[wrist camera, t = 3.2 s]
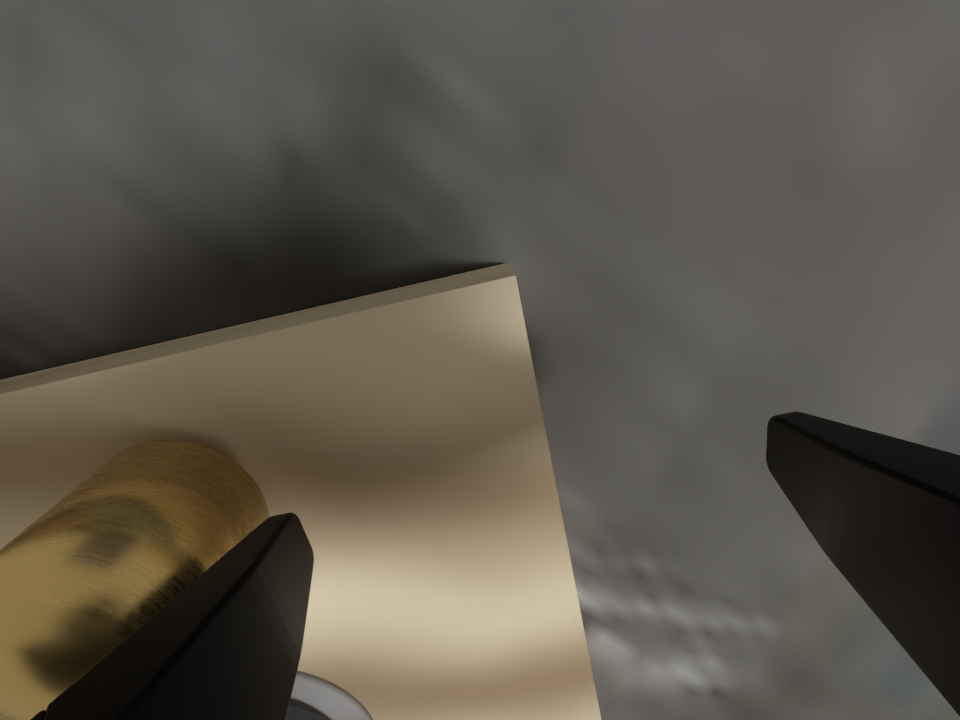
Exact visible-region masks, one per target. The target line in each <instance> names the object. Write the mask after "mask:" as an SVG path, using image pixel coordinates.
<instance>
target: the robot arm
mask: <svg viewBox="0 0 960 720" xmlns="http://www.w3.org/2000/svg"><path fill="white" fill-rule="evenodd" d="M766 460H767V465H768V468H769V470H770V472H771V474H772V475H773V477H774V478H775V480H776V481H777V483H778V484H779V486H780V487H781V489H782V490H783V492H784V493H785V495H786V496H787V498H788V499H789V501H790V502H791V504H792V505H793V507H794V508H795V510H796V511H797V513H798V514H799V516H800V517H801V519H802V520H803V522H804V523H805V525H806V526H807V528H808V529H809V531H810V532H811V533H812V535H813V536H814V538H815V539H816V541H817V542H818V544H819V545H820V546H821V548H822V549H823V551H824V552H825V553H826V555H827V556H828V557H829V558H830V560H831V561H832V562H833V563H834V565H835V566H836V567H837V569H838V570H839V571H840V572H841V573H842V575H843V576H844V577H845V578H846V579H847V581H848V582H849V583H850V584H851V585H852V587H853V588H854V589H855V590H856V592H857V593H858V594H859V595H860V596H861V598H862V599H863V600H864V601H865V602H866V604H867V605H868V606H869V607H870V608H871V610H872V611H873V612H874V613H875V614H876V616H877V617H878V618H879V619H880V621H881V622H882V623H883V624H884V625H885V627H886V628H887V629H888V630H889V631H890V633H891V634H892V635H893V636H894V637H895V639H896V640H897V641H898V642H899V644H900V645H901V646H902V647H903V648H904V650H905V651H906V652H907V653H908V654H909V656H910V657H911V658H912V659H913V660H914V662H915V663H916V664H917V665H918V667H919V668H920V669H921V670H922V671H923V673H924V674H925V675H926V676H927V677H928V679H929V680H930V681H931V682H932V683H933V685H934V686H935V687H936V688H937V690H938V691H939V692H940V693H941V694H942V696H943V697H944V698H945V699H946V700H947V702H948V703H949V704H950V705H951V706H952V708H953V709H954V710H955V711H956V713H957V714H958V715H959V716H960V455H957V454H953V453H950V452H946V451H942V450H939V449H935V448H931V447H927V446H924V445H920V444H916V443H913V442H909V441H905V440H902V439H898V438H894V437H890V436H887V435H883V434H879V433H876V432H872V431H868V430H865V429H861V428H857V427H853V426H850V425H846V424H842V423H839V422H835V421H831V420H828V419H824V418H820V417H816V416H813V415H809V414H805V413H802V412H790V413H785V414H780V415H775V416H773V417H771V418H770V419H769V422H768V426H767V449H766ZM313 565H314V555H313V550H312V547H311V544H310V542H309V540H308V538H307V535H306V533H305V531H304V528H303V526H302V524H301V521H300V519H299V518H298V516H297V515H296V514H294V513H292V512H290V513H285V514H280V515H275V516H271V517H268V518H267V519H266V520H265V521H263V522H262V523H261V524H260V525H259V526H258V527H256V528H255V529H254V530H253V531H252V532H250V533H249V534H248V535H247V536H246V537H245V538H243V539H242V540H241V541H240V542H239V543H238V544H236V545H235V546H234V547H233V548H232V549H230V550H229V551H228V552H227V553H226V554H225V555H223V556H222V557H221V558H220V559H219V560H218V561H216V562H215V563H214V564H213V565H212V566H210V567H209V568H208V569H207V570H206V571H205V572H203V573H202V574H201V575H200V576H199V577H198V578H196V579H195V580H194V581H193V582H192V583H191V584H189V585H188V586H187V587H186V588H185V589H183V590H182V591H181V592H180V593H179V594H178V595H176V596H175V597H174V598H173V599H172V600H171V601H169V602H168V603H167V604H166V605H165V606H163V607H162V608H161V609H160V610H159V611H158V612H156V613H155V614H154V615H153V616H152V617H151V618H149V619H148V620H147V621H146V622H145V623H143V624H142V625H141V626H140V627H139V628H138V629H136V630H135V631H134V632H133V633H132V634H131V635H129V636H128V637H127V638H126V639H125V640H123V641H122V642H121V643H120V644H119V645H118V646H116V647H115V648H114V649H113V650H112V651H111V652H109V653H108V654H107V655H106V656H105V657H103V658H102V659H101V660H100V661H99V662H98V663H96V664H95V665H94V666H93V667H92V668H91V669H89V670H88V671H87V672H86V673H85V674H84V675H82V676H81V677H80V678H79V679H78V680H76V681H75V682H74V683H73V684H72V685H71V686H69V687H68V688H67V689H66V690H65V691H64V692H62V693H61V694H60V695H59V696H58V697H56V698H55V699H54V700H53V701H52V702H51V703H49V705H48V706H47V710H42V711H40V712H39V713H37V714H36V715H35V716H34V717H33V718H32V719H30V720H286V715H287V711H288V707H289V703H290V699H291V695H292V691H293V687H294V683H295V678H296V674H297V670H298V665H299V661H300V656H301V651H302V645H303V639H304V631H305V624H306V617H307V609H308V602H309V595H310V587H311V580H312V573H313Z"/></svg>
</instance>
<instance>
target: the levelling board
mask: <svg viewBox="0 0 960 720" xmlns="http://www.w3.org/2000/svg"><path fill="white" fill-rule="evenodd" d="M159 440H174V441H184V442H189V443H194V444H198V445H201V446H204V447H207V448H210V449H212V450H214V451H217V452H219V453H221V454H223V455H224V456H226V457H228V458H230V459H231V460H233V461H234V462H235V463H237V464H238V465H239V466H241V467H242V468H243V469H244V470H245V471H246V472H247V473H248V474H249V475H250V476H251V477H252V478H253V480H254V481H255V482H256V484H257V485H258V487H259V488H260V490H261V492H262V494H263V496H264V498H265V500H266V503H267V507H268V512H269V517H271V516H275V515H280V514H285V513H290V512H292V513H294V514H296V515H297V516H298V518H299V519H300V521H301V524H302V526H303V528H304V531H305V533H306V535H307V538H308V540H309V542H310V544H311V547H312V550H313V555H314V565H313V573H312V580H311V587H310V595H309V602H308V609H307V617H306V624H305V631H304V639H303V645H302V651H301V656H300V661H299V665H298V670H297V674H296V678H295V683H294V687H293V691H292V695H291V699H290V703H289V705H293V706H297V707H300V708H303V709H306V710H308V711H311V712H313V713H315V714H317V715H319V716H321V717H323V718H325V719H326V720H601V715H600V710H599V705H598V700H597V695H596V689H595V684H594V679H593V674H592V669H591V664H590V658H589V653H588V648H587V643H586V638H585V632H584V627H583V622H582V617H581V612H580V607H579V601H578V596H577V591H576V586H575V581H574V575H573V570H572V565H571V560H570V555H569V550H568V544H567V539H566V534H565V529H564V524H563V518H562V513H561V508H560V503H559V498H558V493H557V487H556V482H555V477H554V472H553V467H552V461H551V456H550V451H549V446H548V441H547V436H546V430H545V425H544V420H543V415H542V410H541V404H540V399H539V394H538V389H537V384H536V379H535V373H534V368H533V363H532V358H531V353H530V347H529V342H528V337H527V332H526V327H525V322H524V316H523V311H522V306H521V301H520V296H519V290H518V285H517V280H516V275H515V274H514V273H513V271H512V270H511V268H510V267H509V266H508V264H507V263H504V264H499V265H495V266H491V267H486V268H482V269H478V270H473V271H469V272H465V273H461V274H456V275H452V276H448V277H443V278H439V279H435V280H430V281H426V282H422V283H417V284H413V285H409V286H404V287H400V288H396V289H391V290H387V291H383V292H378V293H374V294H370V295H365V296H361V297H357V298H352V299H348V300H344V301H339V302H335V303H331V304H326V305H322V306H318V307H313V308H309V309H305V310H300V311H296V312H292V313H287V314H283V315H279V316H274V317H270V318H266V319H261V320H257V321H253V322H248V323H244V324H240V325H235V326H231V327H227V328H222V329H218V330H214V331H209V332H205V333H201V334H196V335H192V336H188V337H183V338H179V339H175V340H170V341H166V342H162V343H157V344H153V345H149V346H144V347H140V348H136V349H131V350H127V351H123V352H118V353H114V354H110V355H105V356H101V357H97V358H92V359H88V360H84V361H80V362H75V363H71V364H67V365H62V366H58V367H54V368H49V369H45V370H41V371H36V372H32V373H28V374H23V375H19V376H15V377H10V378H6V379H2V380H0V550H1V549H2V548H3V547H4V546H6V545H7V544H8V543H9V542H10V541H12V540H13V539H14V538H15V537H17V536H18V535H19V534H20V533H21V532H23V531H24V530H25V529H26V528H27V527H29V526H30V525H31V524H32V523H34V522H35V521H36V520H37V519H38V518H40V517H41V516H42V515H43V514H45V513H46V512H47V511H48V510H49V509H51V508H52V507H53V506H54V505H55V504H57V503H58V502H59V501H60V500H62V499H63V498H64V497H65V496H66V495H68V494H69V493H70V492H71V491H73V490H74V489H75V488H76V487H77V486H79V485H80V484H81V483H82V482H83V481H85V480H86V479H87V478H88V477H90V476H91V475H92V474H93V473H94V472H96V471H97V470H98V469H99V468H101V467H102V466H103V465H104V464H105V463H107V462H108V461H109V460H110V459H112V458H113V457H114V456H115V455H117V454H118V453H120V452H122V451H123V450H125V449H127V448H130V447H132V446H135V445H138V444H142V443H146V442H151V441H159Z"/></svg>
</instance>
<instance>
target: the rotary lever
mask: <svg viewBox="0 0 960 720" xmlns="http://www.w3.org/2000/svg"><path fill="white" fill-rule="evenodd" d="M268 517H269V512H268V507H267V503H266V500H265V498H264V496H263V494H262V492H261V490H260V488H259V487H258V485H257V484H256V482H255V481H254V480H253V478H252V477H251V476H250V475H249V474H248V473H247V472H246V471H245V470H244V469H243V468H242V467H241V466H239V465H238V464H237V463H235V462H234V461H233V460H231V459H230V458H228V457H226V456H224V455H223V454H221V453H219V452H217V451H214V450H212V449H210V448H207V447H204V446H201V445H198V444H194V443H189V442H184V441H174V440H159V441H151V442H146V443H142V444H138V445H135V446H132V447H130V448H127V449H125V450H123V451H122V452H120V453H118V454H117V455H115V456H114V457H113V458H112V459H110V460H109V461H108V462H107V463H105V464H104V465H103V466H102V467H101V468H99V469H98V470H97V471H96V472H94V473H93V474H92V475H91V476H90V477H88V478H87V479H86V480H85V481H83V482H82V483H81V484H80V485H79V486H77V487H76V488H75V489H74V490H73V491H71V492H70V493H69V494H68V495H66V496H65V497H64V498H63V499H62V500H60V501H59V502H58V503H57V504H55V505H54V506H53V507H52V508H51V509H49V510H48V511H47V512H46V513H45V514H43V515H42V516H41V517H40V518H38V519H37V520H36V521H35V522H34V523H32V524H31V525H30V526H29V527H27V528H26V529H25V530H24V531H23V532H21V533H20V534H19V535H18V536H17V537H15V538H14V539H13V540H12V541H10V542H9V543H8V544H7V545H6V546H4V547H3V548H2V549H1V550H0V720H30V719H32V718H33V717H34V716H35V715H36V714H37V713H39V712H40V711H42V710H47V706H48V705H49V703H51V702H52V701H53V700H54V699H55V698H56V697H58V696H59V695H60V694H61V693H62V692H64V691H65V690H66V689H67V688H68V687H69V686H71V685H72V684H73V683H74V682H75V681H76V680H78V679H79V678H80V677H81V676H82V675H84V674H85V673H86V672H87V671H88V670H89V669H91V668H92V667H93V666H94V665H95V664H96V663H98V662H99V661H100V660H101V659H102V658H103V657H105V656H106V655H107V654H108V653H109V652H111V651H112V650H113V649H114V648H115V647H116V646H118V645H119V644H120V643H121V642H122V641H123V640H125V639H126V638H127V637H128V636H129V635H131V634H132V633H133V632H134V631H135V630H136V629H138V628H139V627H140V626H141V625H142V624H143V623H145V622H146V621H147V620H148V619H149V618H151V617H152V616H153V615H154V614H155V613H156V612H158V611H159V610H160V609H161V608H162V607H163V606H165V605H166V604H167V603H168V602H169V601H171V600H172V599H173V598H174V597H175V596H176V595H178V594H179V593H180V592H181V591H182V590H183V589H185V588H186V587H187V586H188V585H189V584H191V583H192V582H193V581H194V580H195V579H196V578H198V577H199V576H200V575H201V574H202V573H203V572H205V571H206V570H207V569H208V568H209V567H210V566H212V565H213V564H214V563H215V562H216V561H218V560H219V559H220V558H221V557H222V556H223V555H225V554H226V553H227V552H228V551H229V550H230V549H232V548H233V547H234V546H235V545H236V544H238V543H239V542H240V541H241V540H242V539H243V538H245V537H246V536H247V535H248V534H249V533H250V532H252V531H253V530H254V529H255V528H256V527H258V526H259V525H260V524H261V523H262V522H263V521H265V520H266V519H267V518H268ZM286 720H326V719H325V718H323V717H321V716H319V715H317V714H315V713H313V712H311V711H308V710H306V709H303V708H300V707H297V706H293V705H289V707H288V711H287V715H286Z"/></svg>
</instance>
